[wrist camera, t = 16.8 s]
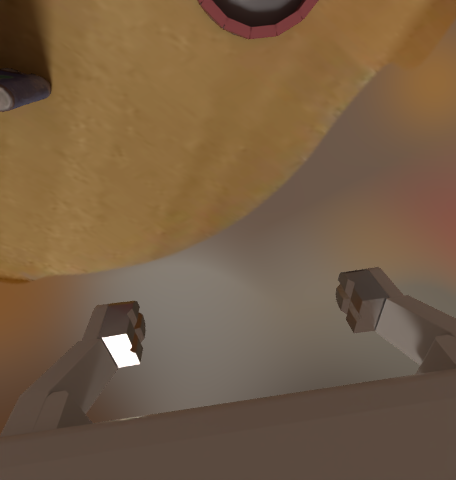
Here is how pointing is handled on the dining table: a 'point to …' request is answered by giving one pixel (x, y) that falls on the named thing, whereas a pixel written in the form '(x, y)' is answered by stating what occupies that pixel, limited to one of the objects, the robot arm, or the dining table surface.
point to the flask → (21, 89)
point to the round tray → (257, 15)
